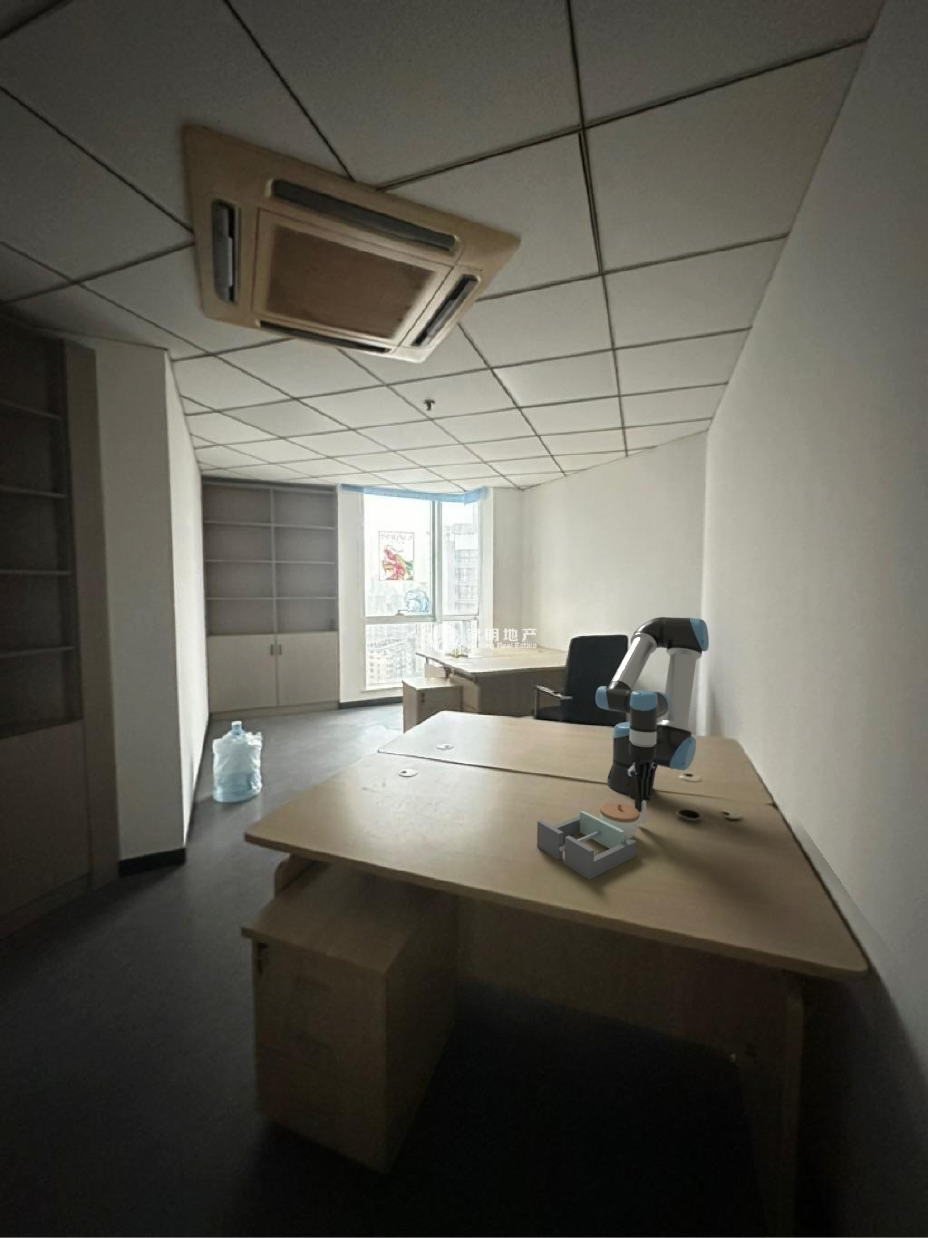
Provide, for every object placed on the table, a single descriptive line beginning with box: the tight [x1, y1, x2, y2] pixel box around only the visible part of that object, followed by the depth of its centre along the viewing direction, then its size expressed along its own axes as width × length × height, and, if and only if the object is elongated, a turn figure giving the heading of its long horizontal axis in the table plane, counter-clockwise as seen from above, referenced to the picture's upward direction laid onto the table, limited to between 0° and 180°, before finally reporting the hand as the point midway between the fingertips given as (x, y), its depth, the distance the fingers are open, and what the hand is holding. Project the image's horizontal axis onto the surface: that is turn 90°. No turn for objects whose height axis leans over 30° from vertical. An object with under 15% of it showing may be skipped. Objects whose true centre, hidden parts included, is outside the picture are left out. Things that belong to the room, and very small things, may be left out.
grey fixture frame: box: [536, 815, 637, 881], centre depth 122 cm, size 18×18×7 cm
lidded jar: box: [599, 801, 640, 842], centre depth 130 cm, size 11×11×9 cm
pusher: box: [559, 810, 624, 852], centre depth 121 cm, size 17×14×6 cm
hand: (640, 820), depth 136 cm, fingers closed
